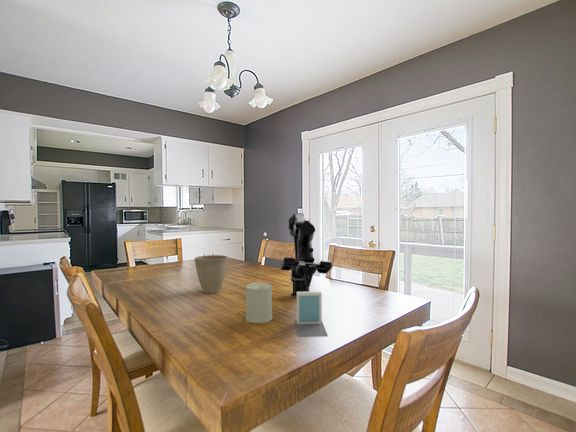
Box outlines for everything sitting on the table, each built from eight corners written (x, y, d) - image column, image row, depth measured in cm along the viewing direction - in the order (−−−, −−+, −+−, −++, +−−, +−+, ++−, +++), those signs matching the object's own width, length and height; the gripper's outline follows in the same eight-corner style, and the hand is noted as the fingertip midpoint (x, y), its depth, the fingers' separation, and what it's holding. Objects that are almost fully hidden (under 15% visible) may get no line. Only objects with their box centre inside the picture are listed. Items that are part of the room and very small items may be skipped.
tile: (296, 321, 96) (296, 291, 96) (320, 321, 96) (320, 291, 96) (297, 324, 94) (297, 293, 94) (321, 324, 94) (321, 293, 94)
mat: (294, 321, 98) (294, 320, 98) (321, 320, 98) (321, 319, 98) (297, 338, 85) (297, 336, 85) (328, 337, 85) (328, 336, 85)
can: (251, 326, 94) (250, 289, 93) (241, 317, 102) (241, 282, 102) (276, 321, 98) (276, 285, 98) (266, 312, 106) (266, 280, 106)
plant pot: (234, 290, 136) (234, 256, 136) (210, 298, 124) (210, 260, 124) (212, 285, 144) (212, 253, 144) (187, 293, 132) (187, 258, 132)
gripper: (320, 260, 122) (324, 296, 113) (277, 256, 118) (277, 293, 109) (330, 247, 114) (335, 285, 104) (283, 242, 109) (285, 281, 100)
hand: (308, 286), depth 105 cm, fingers closed
